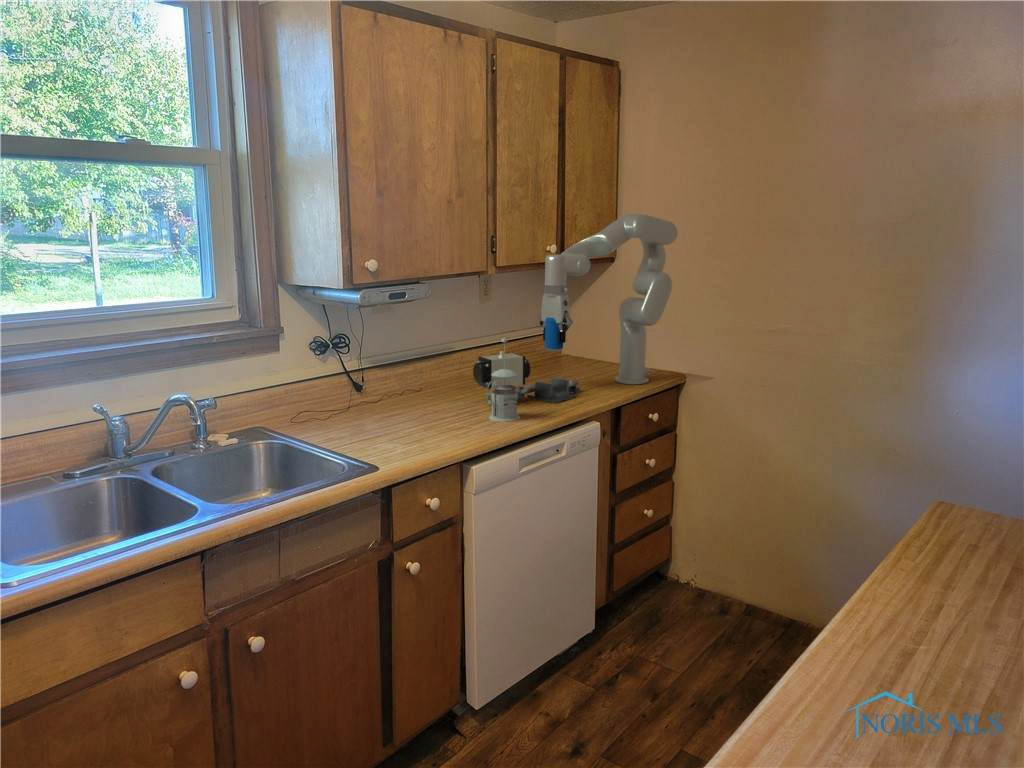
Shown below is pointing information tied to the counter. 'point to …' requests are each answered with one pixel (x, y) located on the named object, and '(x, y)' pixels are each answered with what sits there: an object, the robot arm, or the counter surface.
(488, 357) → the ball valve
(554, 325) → the beverage can
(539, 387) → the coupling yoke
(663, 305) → the robot arm
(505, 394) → the french press
